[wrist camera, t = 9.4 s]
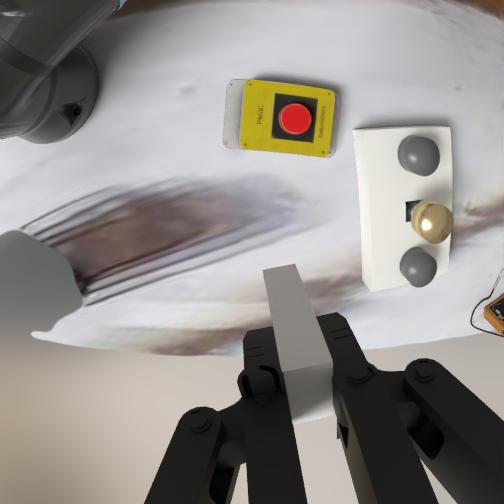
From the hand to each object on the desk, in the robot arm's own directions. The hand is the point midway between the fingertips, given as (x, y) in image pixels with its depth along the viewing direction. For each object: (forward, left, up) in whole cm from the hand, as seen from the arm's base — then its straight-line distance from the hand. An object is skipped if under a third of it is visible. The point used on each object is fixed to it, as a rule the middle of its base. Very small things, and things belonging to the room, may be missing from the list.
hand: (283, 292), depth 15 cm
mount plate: (+6, +22, -29) cm, 37 cm away
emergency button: (-8, +5, -30) cm, 31 cm away
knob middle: (+6, +22, -26) cm, 34 cm away
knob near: (-2, +22, -29) cm, 36 cm away
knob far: (+14, +22, -29) cm, 39 cm away
